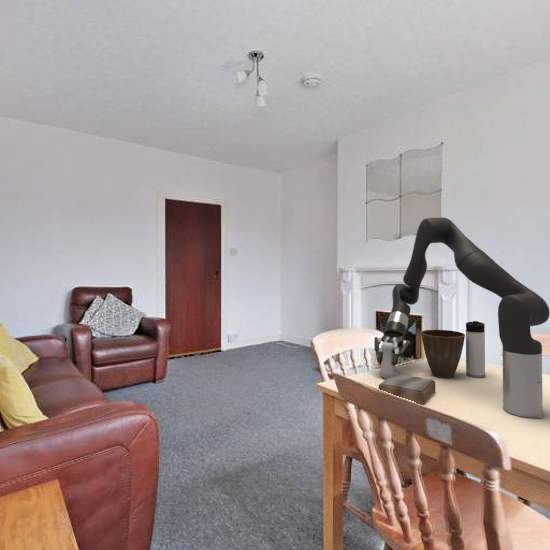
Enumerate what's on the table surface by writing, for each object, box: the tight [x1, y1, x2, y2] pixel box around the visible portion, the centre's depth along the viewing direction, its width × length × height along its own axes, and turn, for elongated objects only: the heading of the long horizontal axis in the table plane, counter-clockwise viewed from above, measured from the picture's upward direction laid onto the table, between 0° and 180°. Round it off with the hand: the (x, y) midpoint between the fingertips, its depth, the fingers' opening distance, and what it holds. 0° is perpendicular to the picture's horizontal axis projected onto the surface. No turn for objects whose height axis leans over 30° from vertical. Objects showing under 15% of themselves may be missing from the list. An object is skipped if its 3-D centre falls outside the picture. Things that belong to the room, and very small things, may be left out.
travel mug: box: [465, 320, 486, 379], centre depth 137 cm, size 6×7×20 cm
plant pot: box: [420, 329, 466, 379], centre depth 138 cm, size 15×15×16 cm
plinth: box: [378, 373, 437, 406], centre depth 120 cm, size 14×14×4 cm
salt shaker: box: [379, 342, 397, 380], centre depth 137 cm, size 6×6×13 cm
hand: (386, 363), depth 135 cm, fingers open, 4 cm apart
